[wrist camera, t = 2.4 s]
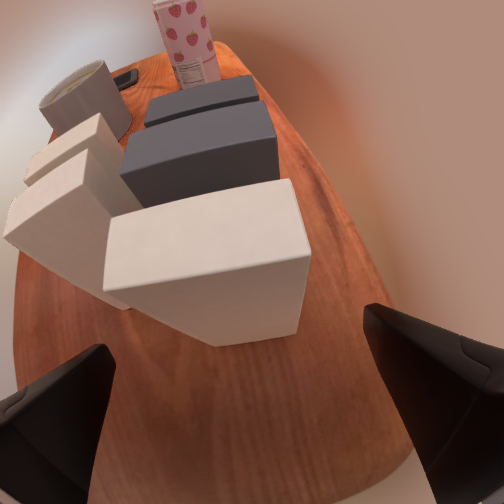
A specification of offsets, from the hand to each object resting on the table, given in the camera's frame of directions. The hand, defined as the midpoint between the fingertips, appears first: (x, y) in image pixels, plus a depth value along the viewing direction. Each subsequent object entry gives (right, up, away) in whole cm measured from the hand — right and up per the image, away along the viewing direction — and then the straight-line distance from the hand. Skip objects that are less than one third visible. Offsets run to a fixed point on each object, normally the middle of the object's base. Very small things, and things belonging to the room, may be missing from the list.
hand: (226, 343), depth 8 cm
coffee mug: (-21, +20, +23) cm, 37 cm away
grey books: (0, +4, +12) cm, 13 cm away
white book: (+1, -2, +9) cm, 10 cm away
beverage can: (-6, +25, +23) cm, 35 cm away
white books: (-8, +2, +12) cm, 15 cm away
